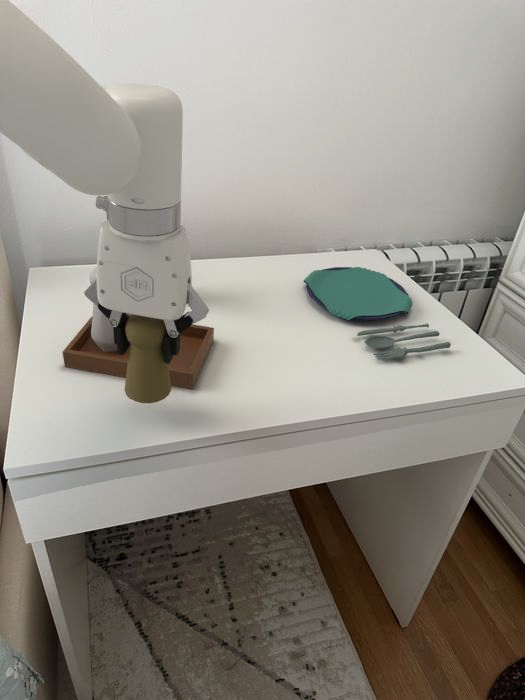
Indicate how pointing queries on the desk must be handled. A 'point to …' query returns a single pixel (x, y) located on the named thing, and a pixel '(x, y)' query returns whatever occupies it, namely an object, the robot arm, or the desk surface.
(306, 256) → the desk surface
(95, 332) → the salt shaker
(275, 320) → the desk surface
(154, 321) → the pepper shaker
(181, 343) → the tray
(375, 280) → the cutlery set
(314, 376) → the desk surface
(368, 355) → the desk surface
